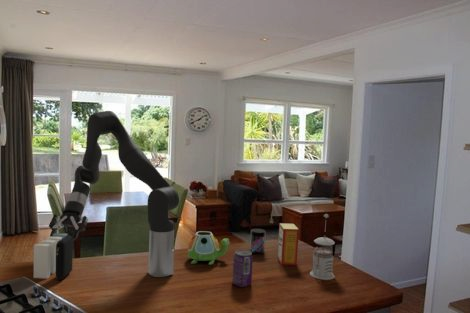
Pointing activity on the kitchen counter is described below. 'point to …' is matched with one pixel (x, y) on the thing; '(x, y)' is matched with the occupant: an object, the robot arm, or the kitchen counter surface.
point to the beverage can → (242, 268)
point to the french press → (323, 259)
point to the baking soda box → (288, 244)
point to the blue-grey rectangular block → (59, 235)
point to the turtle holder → (206, 247)
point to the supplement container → (257, 241)
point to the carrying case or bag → (64, 257)
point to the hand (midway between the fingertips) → (62, 238)
